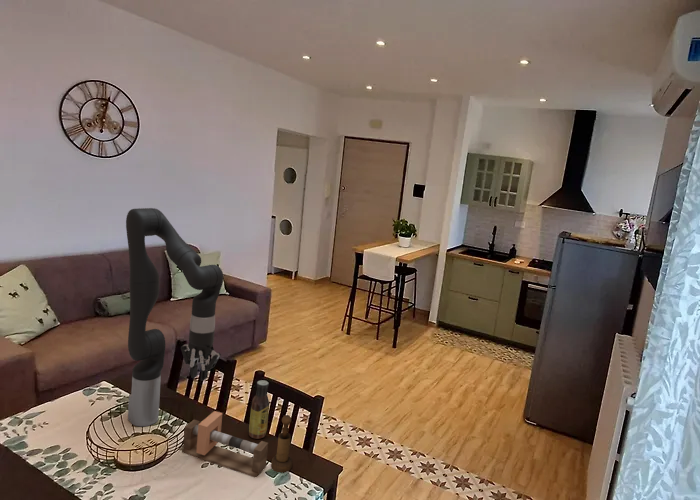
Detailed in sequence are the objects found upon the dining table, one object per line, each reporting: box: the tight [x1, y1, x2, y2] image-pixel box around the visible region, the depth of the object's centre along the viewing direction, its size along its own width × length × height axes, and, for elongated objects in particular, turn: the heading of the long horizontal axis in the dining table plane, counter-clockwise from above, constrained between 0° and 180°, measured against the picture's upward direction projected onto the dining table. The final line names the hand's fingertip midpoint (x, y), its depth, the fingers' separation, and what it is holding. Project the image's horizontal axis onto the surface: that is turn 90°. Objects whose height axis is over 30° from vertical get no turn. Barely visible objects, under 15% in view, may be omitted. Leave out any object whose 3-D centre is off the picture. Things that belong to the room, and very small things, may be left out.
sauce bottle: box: [248, 379, 270, 440], centre depth 169 cm, size 7×6×20 cm
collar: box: [196, 410, 223, 455], centre depth 155 cm, size 3×9×10 cm, turn 163°
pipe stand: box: [181, 419, 269, 478], centre depth 154 cm, size 27×7×9 cm, turn 73°
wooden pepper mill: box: [270, 414, 293, 474], centre depth 153 cm, size 7×6×18 cm
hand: (198, 378), depth 154 cm, fingers open, 3 cm apart
